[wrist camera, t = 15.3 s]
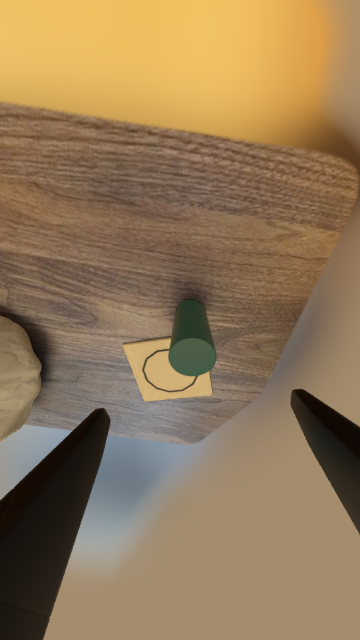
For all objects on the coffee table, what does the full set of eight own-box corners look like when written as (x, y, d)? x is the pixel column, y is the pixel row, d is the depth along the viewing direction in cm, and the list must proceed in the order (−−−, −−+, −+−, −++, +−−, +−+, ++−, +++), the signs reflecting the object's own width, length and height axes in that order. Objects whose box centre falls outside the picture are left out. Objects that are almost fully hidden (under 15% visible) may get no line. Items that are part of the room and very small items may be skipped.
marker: (206, 320, 19) (218, 374, 12) (179, 324, 20) (173, 379, 12) (202, 294, 18) (213, 334, 10) (173, 299, 18) (163, 341, 11)
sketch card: (212, 392, 24) (212, 395, 24) (145, 399, 25) (144, 401, 25) (203, 332, 20) (203, 334, 20) (123, 343, 21) (122, 345, 21)
